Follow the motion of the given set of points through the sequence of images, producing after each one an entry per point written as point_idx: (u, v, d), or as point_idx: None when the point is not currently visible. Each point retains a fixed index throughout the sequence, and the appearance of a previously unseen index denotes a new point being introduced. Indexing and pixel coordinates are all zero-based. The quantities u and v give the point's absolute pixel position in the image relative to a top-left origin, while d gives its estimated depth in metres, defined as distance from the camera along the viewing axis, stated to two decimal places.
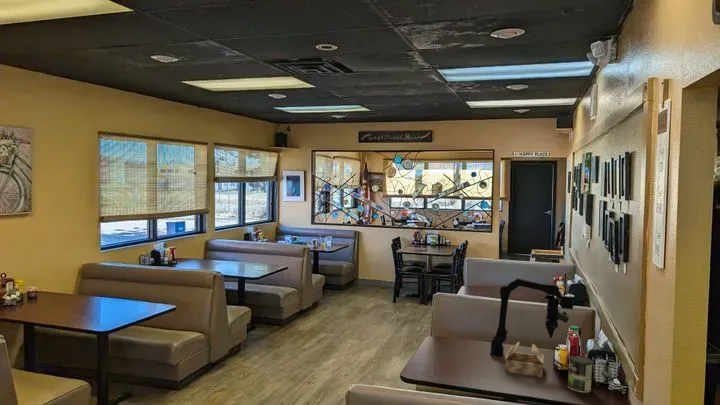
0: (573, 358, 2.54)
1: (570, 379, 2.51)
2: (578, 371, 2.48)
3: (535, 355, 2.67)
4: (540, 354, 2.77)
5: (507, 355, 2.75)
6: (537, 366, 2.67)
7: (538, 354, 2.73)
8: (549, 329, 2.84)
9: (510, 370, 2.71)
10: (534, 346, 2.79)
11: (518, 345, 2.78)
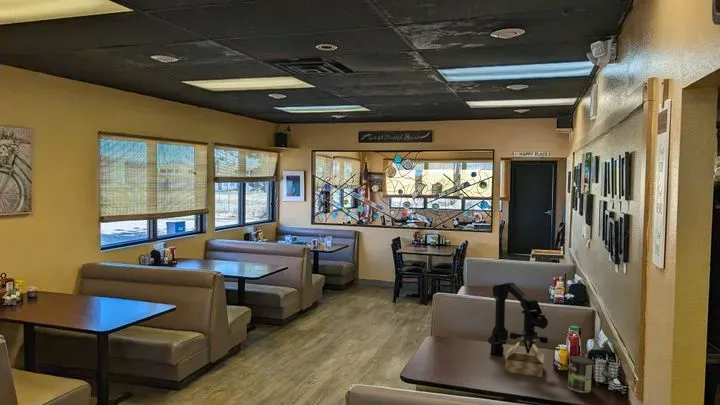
0: (573, 358, 2.54)
1: (570, 379, 2.51)
2: (578, 371, 2.48)
3: (535, 355, 2.67)
4: (540, 354, 2.77)
5: (507, 355, 2.75)
6: (537, 366, 2.67)
7: (538, 354, 2.73)
8: None
9: (510, 370, 2.71)
10: (534, 346, 2.79)
11: (518, 345, 2.78)
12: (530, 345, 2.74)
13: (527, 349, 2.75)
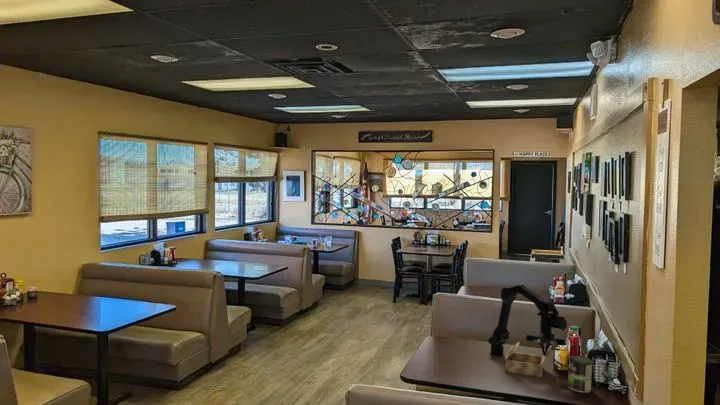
0: (573, 358, 2.54)
1: (570, 379, 2.51)
2: (578, 371, 2.48)
3: (548, 355, 2.65)
4: None
5: (507, 355, 2.75)
6: (537, 366, 2.67)
7: (547, 355, 2.72)
8: None
9: (510, 370, 2.71)
10: None
11: (518, 345, 2.78)
12: (547, 347, 2.71)
13: (544, 351, 2.72)
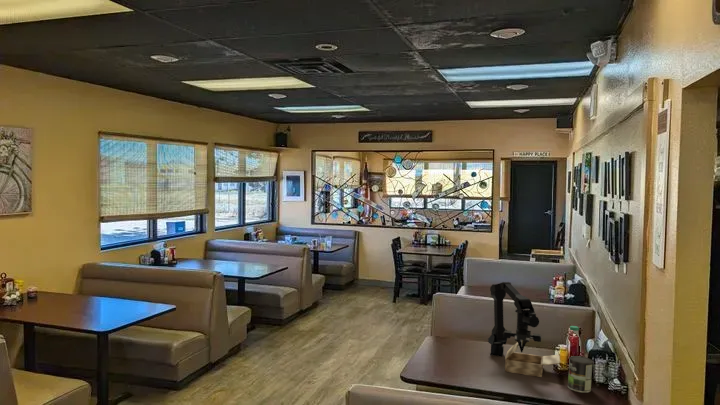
0: (573, 358, 2.54)
1: (570, 379, 2.51)
2: (578, 371, 2.48)
3: None
4: None
5: (507, 355, 2.75)
6: (537, 366, 2.67)
7: None
8: None
9: (510, 370, 2.71)
10: None
11: (517, 344, 2.78)
12: (523, 344, 2.75)
13: (521, 348, 2.76)
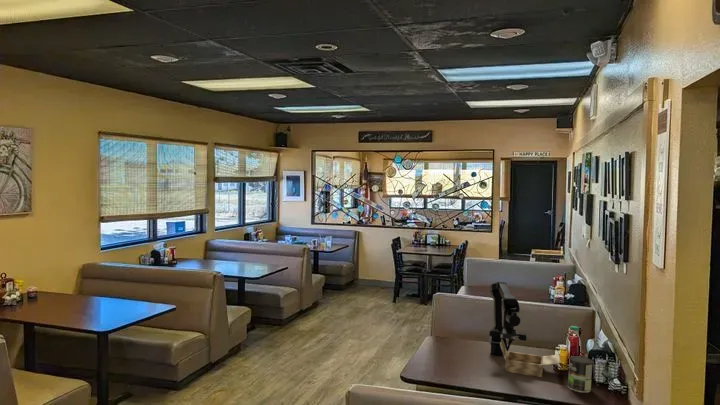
0: (573, 358, 2.54)
1: (570, 379, 2.51)
2: (578, 371, 2.48)
3: None
4: None
5: (504, 355, 2.75)
6: (537, 366, 2.67)
7: None
8: None
9: (510, 370, 2.71)
10: None
11: (501, 340, 2.81)
12: (509, 342, 2.78)
13: (506, 346, 2.79)
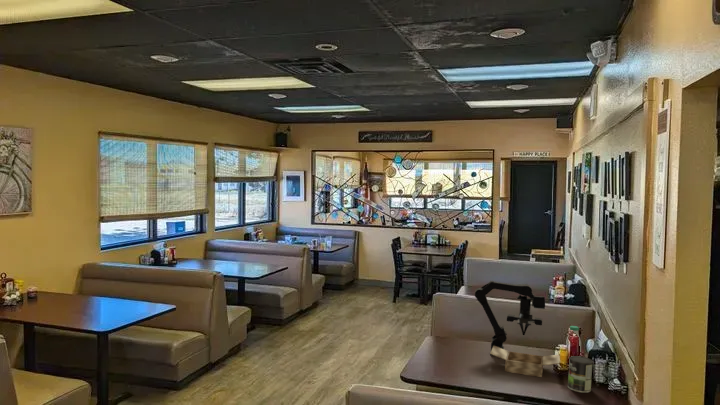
0: (573, 358, 2.54)
1: (570, 379, 2.51)
2: (578, 371, 2.48)
3: None
4: None
5: None
6: (537, 366, 2.67)
7: None
8: None
9: (510, 370, 2.71)
10: None
11: (492, 349, 2.83)
12: (526, 327, 2.95)
13: (523, 331, 2.96)
